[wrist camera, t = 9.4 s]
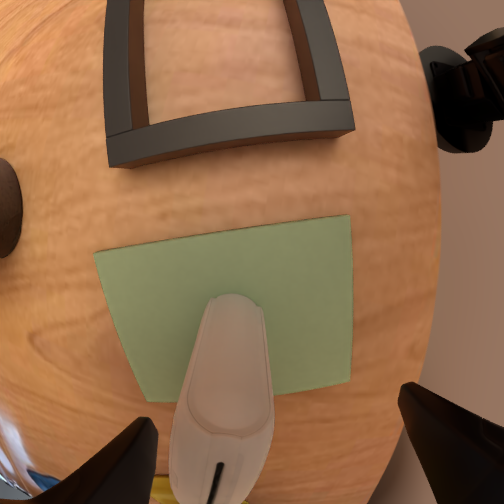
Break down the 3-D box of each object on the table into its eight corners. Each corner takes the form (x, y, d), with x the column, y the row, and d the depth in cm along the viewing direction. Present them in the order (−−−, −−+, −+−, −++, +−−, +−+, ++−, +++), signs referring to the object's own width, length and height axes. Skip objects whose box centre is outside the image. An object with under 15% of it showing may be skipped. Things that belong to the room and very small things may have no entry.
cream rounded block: (241, 403, 21) (239, 533, 9) (190, 394, 21) (163, 522, 9) (270, 297, 19) (298, 453, 7) (206, 285, 18) (156, 434, 6)
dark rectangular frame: (291, -43, 12) (296, -65, 9) (338, 137, 17) (355, 129, 14) (125, -16, 13) (112, -35, 9) (130, 168, 17) (108, 167, 14)
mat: (347, 214, 18) (350, 215, 17) (348, 377, 22) (350, 381, 21) (96, 251, 18) (92, 253, 18) (148, 397, 22) (146, 402, 21)
